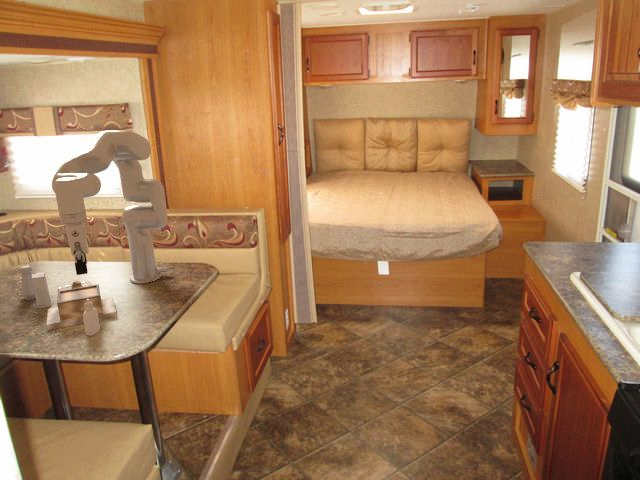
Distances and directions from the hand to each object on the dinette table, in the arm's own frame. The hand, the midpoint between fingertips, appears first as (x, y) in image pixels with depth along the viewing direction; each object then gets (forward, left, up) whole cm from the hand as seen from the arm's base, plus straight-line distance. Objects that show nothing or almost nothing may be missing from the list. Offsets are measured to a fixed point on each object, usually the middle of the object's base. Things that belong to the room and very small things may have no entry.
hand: (82, 269), depth 165 cm
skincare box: (+16, -33, -23) cm, 43 cm away
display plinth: (+3, -16, -23) cm, 28 cm away
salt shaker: (+21, -43, -23) cm, 53 cm away
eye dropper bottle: (0, 0, -23) cm, 23 cm away
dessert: (+4, -44, -23) cm, 49 cm away
